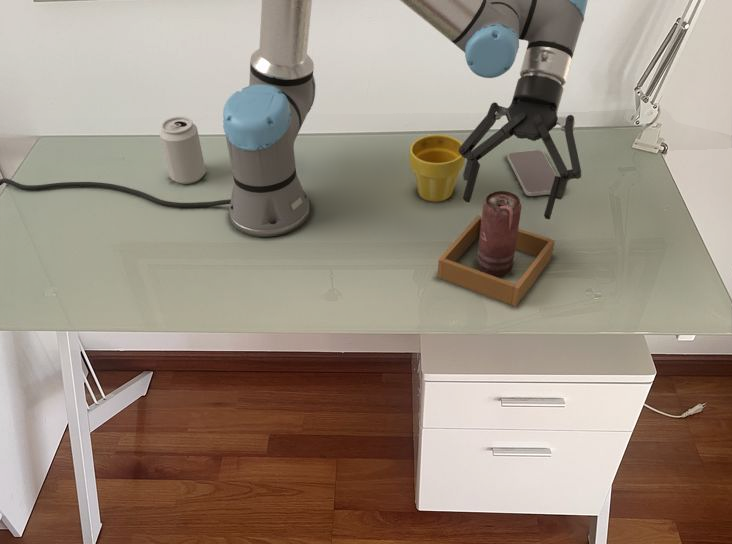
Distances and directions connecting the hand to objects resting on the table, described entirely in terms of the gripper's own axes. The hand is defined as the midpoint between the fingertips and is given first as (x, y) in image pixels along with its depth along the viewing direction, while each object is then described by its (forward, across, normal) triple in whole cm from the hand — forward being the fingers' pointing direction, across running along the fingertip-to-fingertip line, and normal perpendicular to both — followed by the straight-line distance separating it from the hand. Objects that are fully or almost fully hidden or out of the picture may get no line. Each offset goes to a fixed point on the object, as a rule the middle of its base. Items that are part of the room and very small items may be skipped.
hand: (505, 209), depth 125 cm
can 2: (+9, 0, +6) cm, 11 cm away
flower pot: (-3, -18, +19) cm, 26 cm away
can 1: (+5, -67, +10) cm, 68 cm away
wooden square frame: (+9, 0, +6) cm, 11 cm away
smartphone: (-12, -1, +28) cm, 30 cm away
